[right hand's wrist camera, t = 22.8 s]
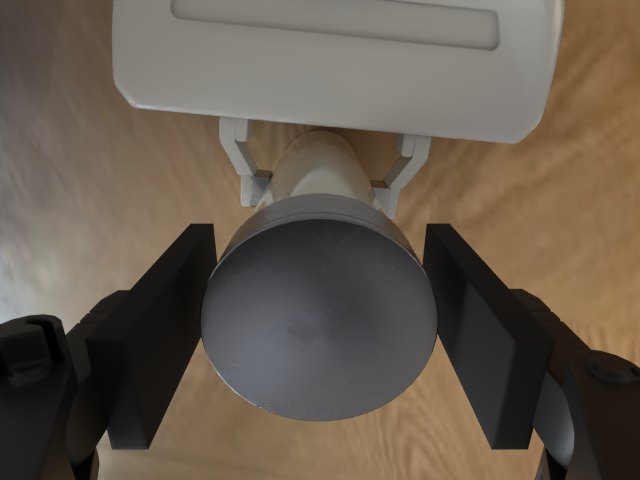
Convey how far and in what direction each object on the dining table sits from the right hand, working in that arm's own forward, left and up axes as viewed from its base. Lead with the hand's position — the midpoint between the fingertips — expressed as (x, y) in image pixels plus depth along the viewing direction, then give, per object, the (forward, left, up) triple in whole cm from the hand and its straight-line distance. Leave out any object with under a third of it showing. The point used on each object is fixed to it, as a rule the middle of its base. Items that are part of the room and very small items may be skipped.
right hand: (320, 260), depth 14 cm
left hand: (0, -1, -9) cm, 9 cm away
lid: (0, 0, +4) cm, 4 cm away
